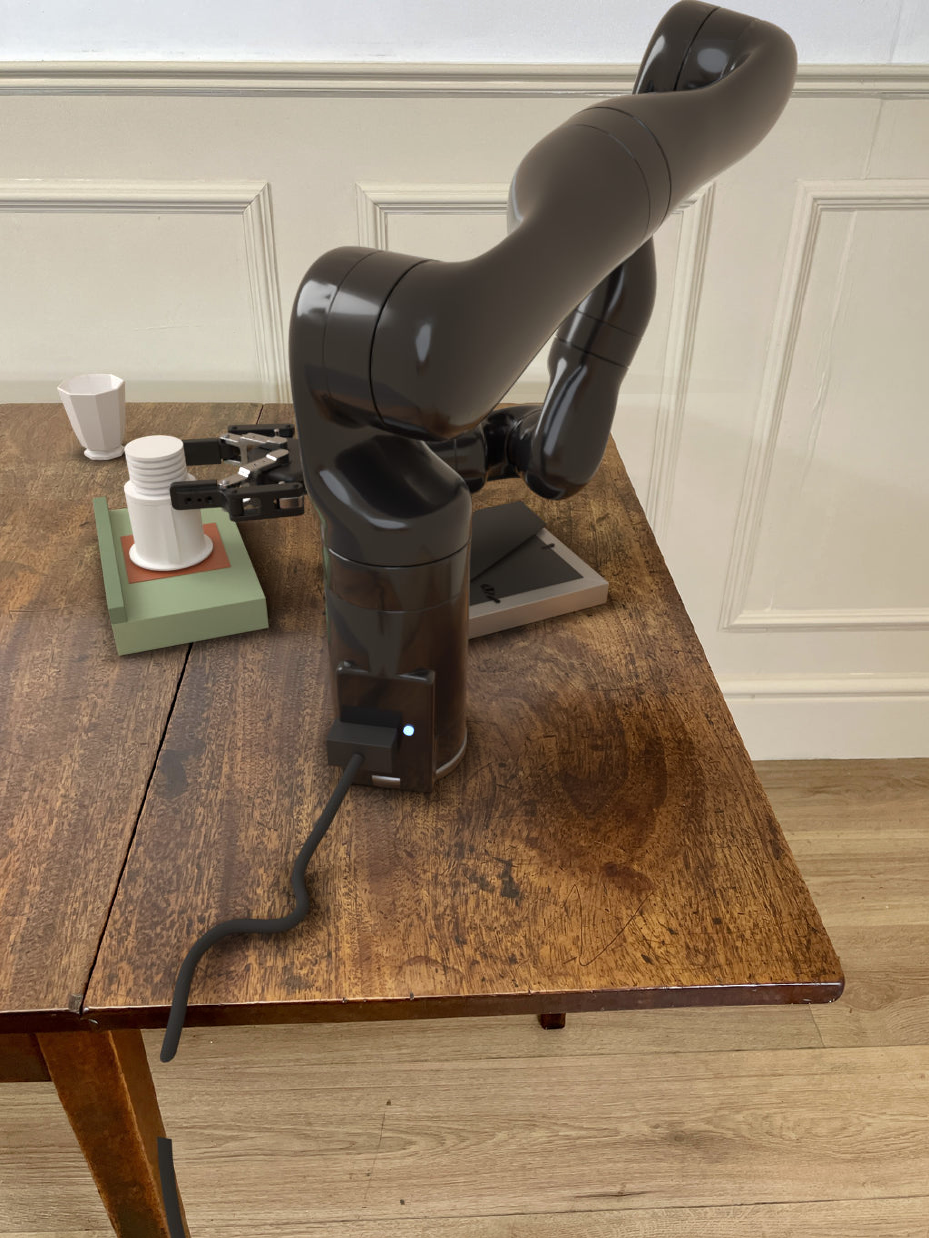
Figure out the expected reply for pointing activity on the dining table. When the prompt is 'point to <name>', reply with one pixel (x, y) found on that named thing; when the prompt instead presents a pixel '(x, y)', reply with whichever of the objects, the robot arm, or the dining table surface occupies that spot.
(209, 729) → the dining table surface
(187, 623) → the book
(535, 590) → the picture frame
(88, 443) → the cup
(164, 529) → the downlight
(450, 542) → the robot arm
